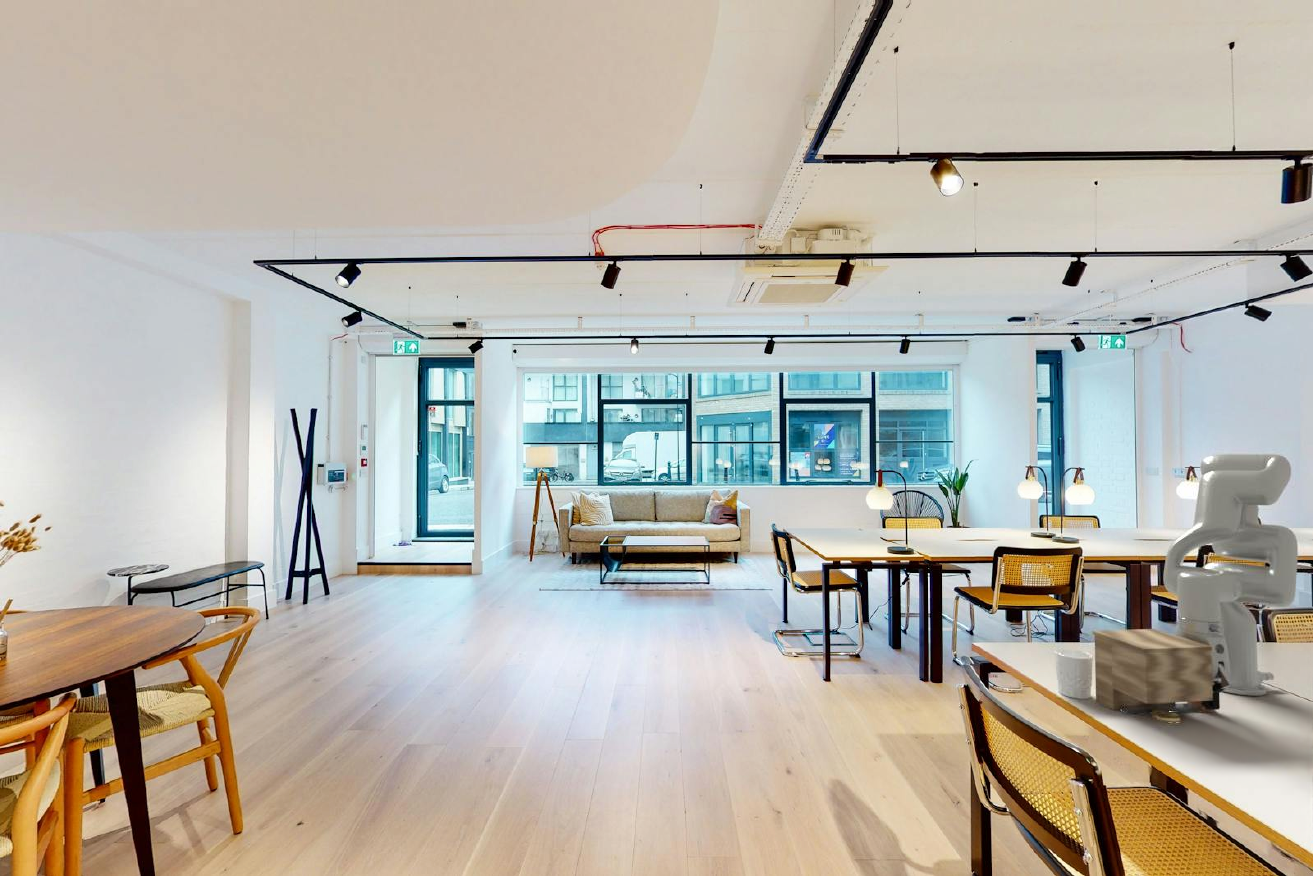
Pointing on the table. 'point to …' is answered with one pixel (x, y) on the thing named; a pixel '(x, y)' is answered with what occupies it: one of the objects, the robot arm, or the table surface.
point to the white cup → (1074, 673)
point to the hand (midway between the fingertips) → (1201, 703)
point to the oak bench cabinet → (1150, 668)
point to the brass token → (1165, 716)
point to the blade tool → (1167, 707)
